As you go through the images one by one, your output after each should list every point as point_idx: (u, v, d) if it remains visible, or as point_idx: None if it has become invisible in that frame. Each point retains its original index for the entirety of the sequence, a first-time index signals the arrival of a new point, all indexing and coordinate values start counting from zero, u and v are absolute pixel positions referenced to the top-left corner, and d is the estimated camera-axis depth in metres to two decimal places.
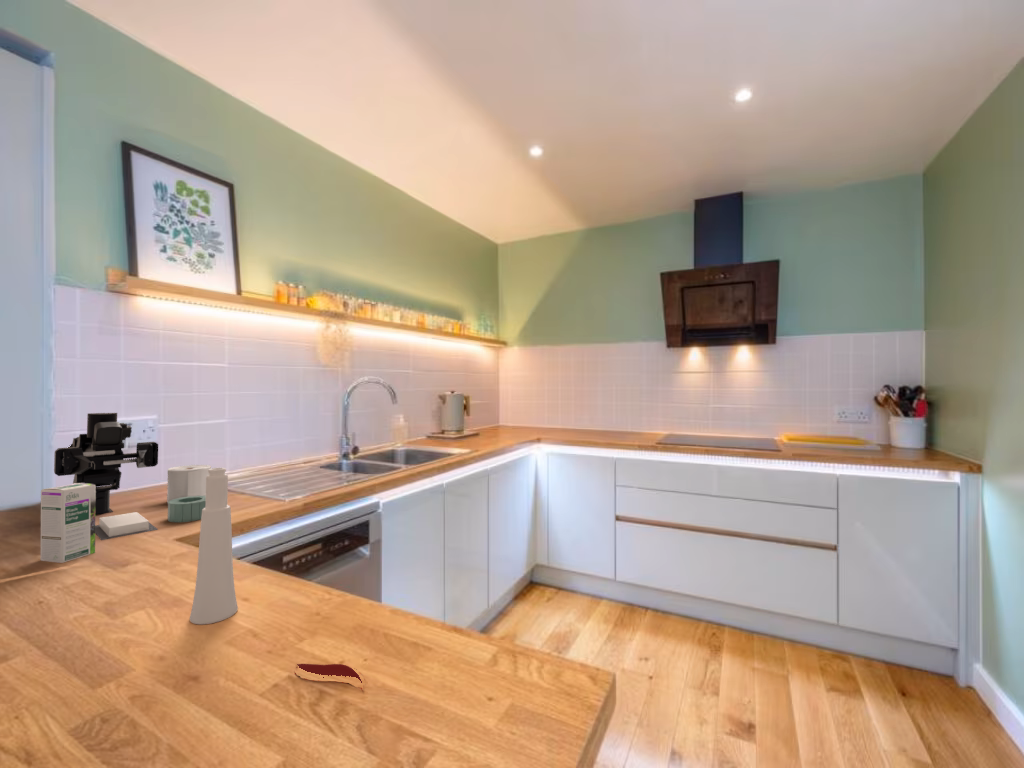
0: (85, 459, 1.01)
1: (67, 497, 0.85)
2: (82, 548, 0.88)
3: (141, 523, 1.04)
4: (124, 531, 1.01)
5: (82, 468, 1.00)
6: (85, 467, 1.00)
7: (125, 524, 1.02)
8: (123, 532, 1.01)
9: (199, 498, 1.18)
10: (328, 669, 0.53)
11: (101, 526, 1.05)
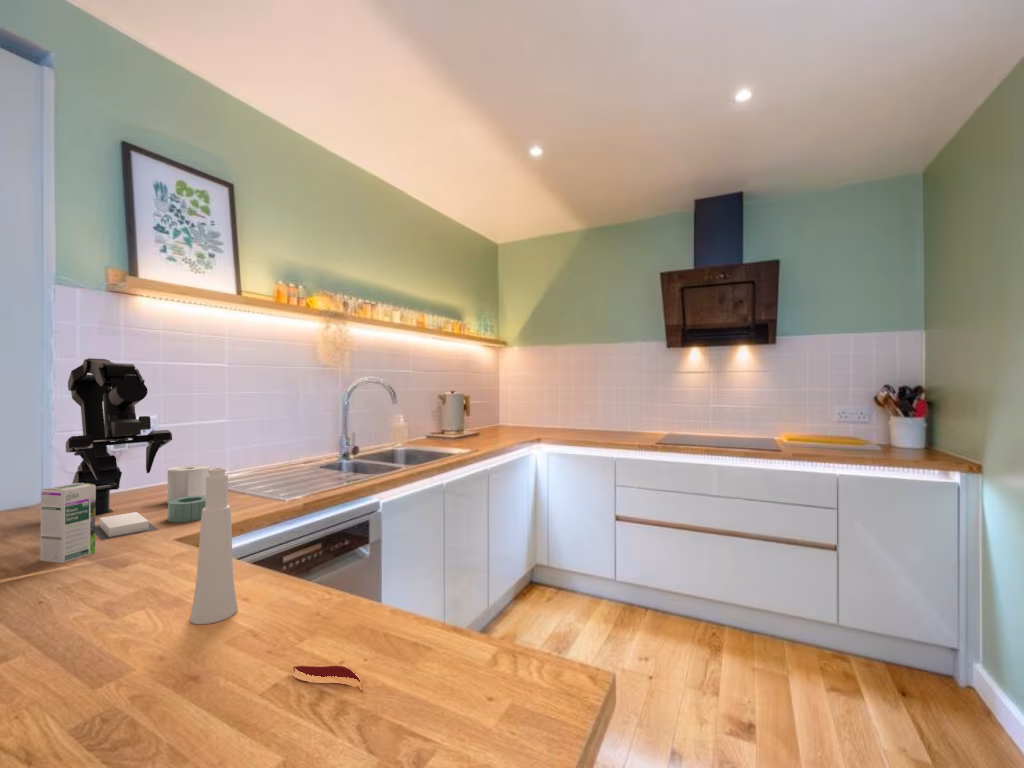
0: (95, 468, 1.01)
1: (67, 497, 0.85)
2: (82, 548, 0.88)
3: (141, 523, 1.04)
4: (124, 531, 1.01)
5: (91, 470, 1.02)
6: (93, 475, 1.02)
7: (125, 524, 1.02)
8: (123, 532, 1.01)
9: (199, 498, 1.18)
10: (326, 671, 0.52)
11: (101, 526, 1.05)
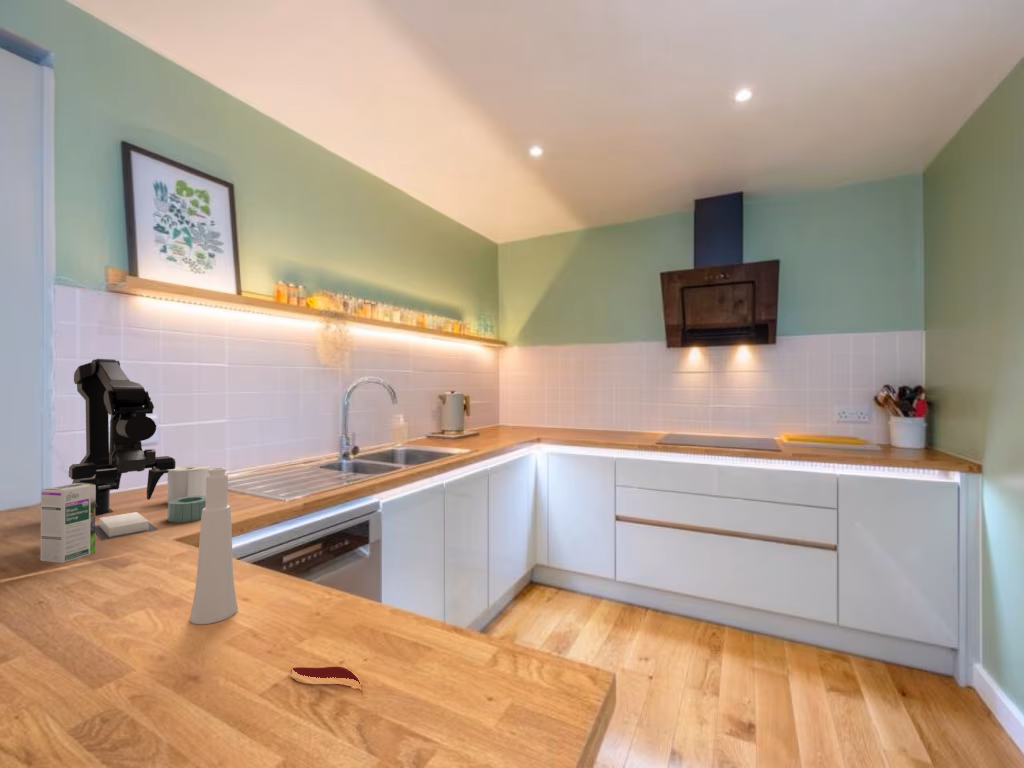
0: (96, 497, 1.02)
1: (67, 497, 0.85)
2: (82, 548, 0.88)
3: (141, 523, 1.04)
4: (124, 531, 1.01)
5: None
6: None
7: (125, 524, 1.02)
8: (123, 532, 1.01)
9: (199, 498, 1.18)
10: (325, 672, 0.52)
11: (101, 526, 1.05)
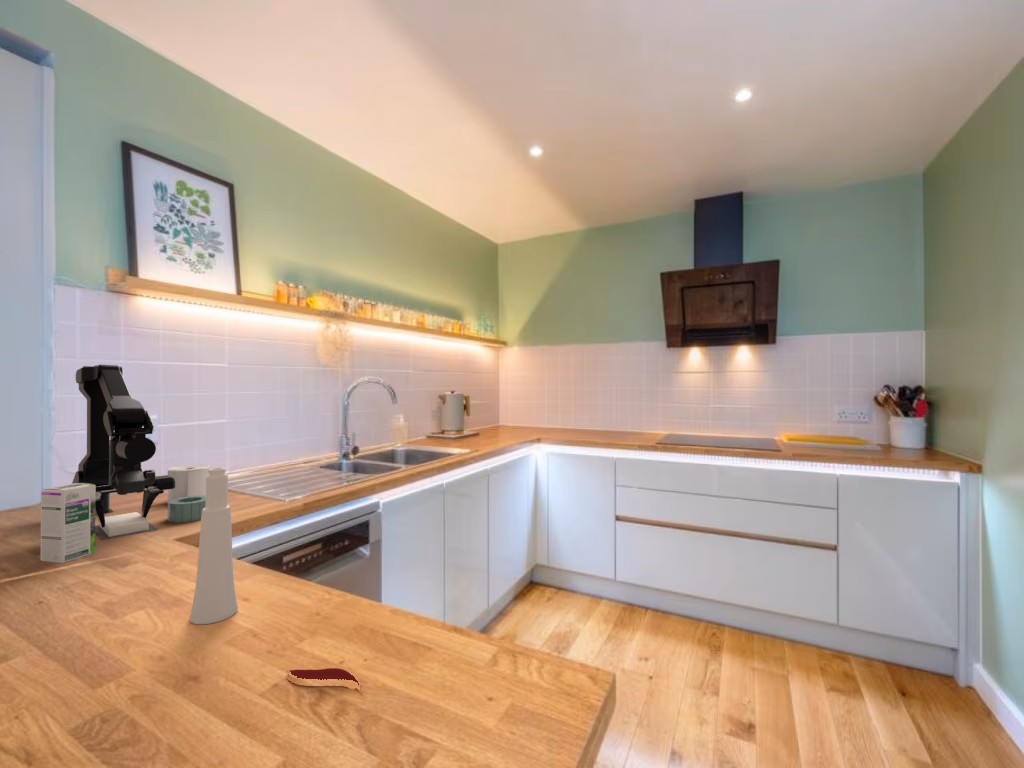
0: (101, 518, 1.02)
1: (67, 497, 0.85)
2: (82, 548, 0.88)
3: (141, 523, 1.04)
4: (124, 531, 1.01)
5: None
6: None
7: (125, 524, 1.02)
8: (123, 532, 1.01)
9: (199, 498, 1.18)
10: (323, 674, 0.52)
11: (101, 526, 1.05)
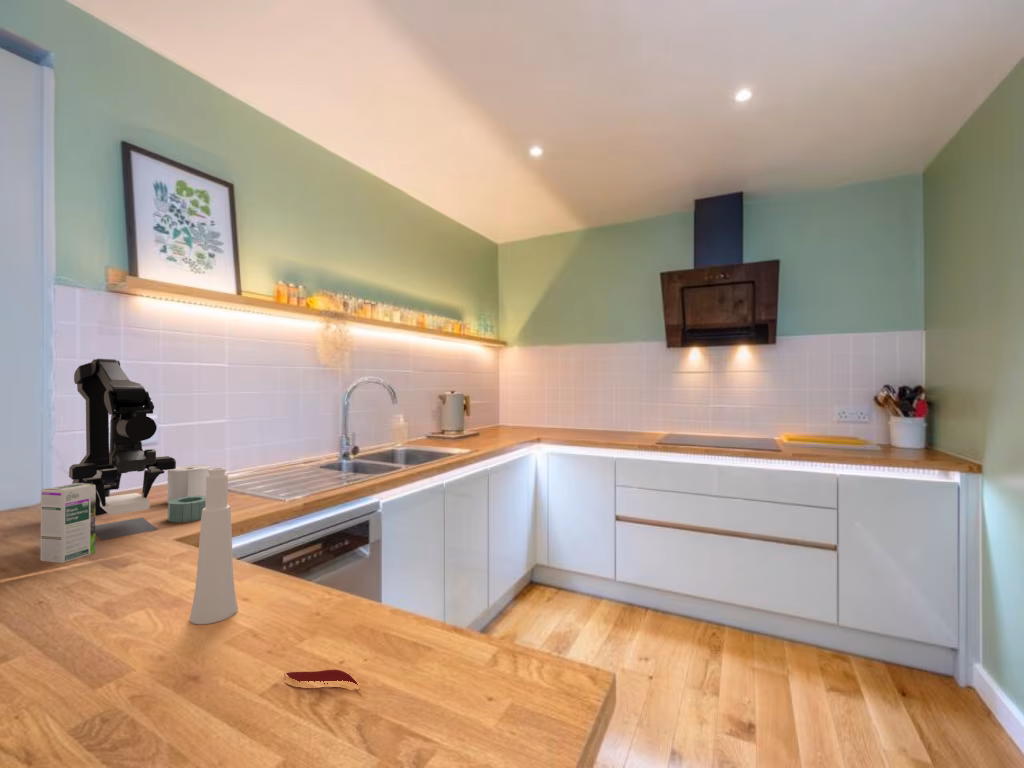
0: (102, 496, 1.02)
1: (67, 497, 0.85)
2: (82, 548, 0.88)
3: (142, 502, 1.04)
4: (125, 510, 1.01)
5: (98, 496, 1.03)
6: (100, 500, 1.03)
7: (126, 503, 1.02)
8: (124, 511, 1.01)
9: (199, 498, 1.18)
10: (321, 675, 0.51)
11: None
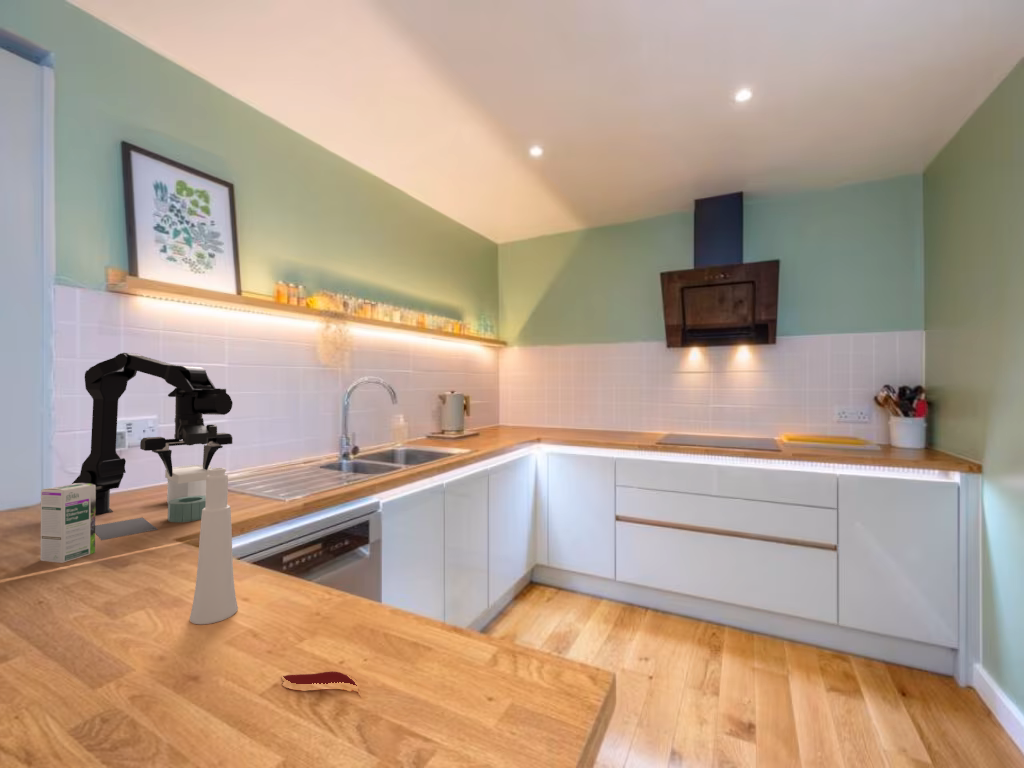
0: (170, 467, 1.11)
1: (67, 497, 0.85)
2: (82, 548, 0.88)
3: (205, 473, 1.13)
4: (191, 479, 1.10)
5: (165, 467, 1.12)
6: (167, 471, 1.12)
7: (191, 473, 1.11)
8: (190, 480, 1.10)
9: (199, 498, 1.18)
10: (319, 678, 0.51)
11: (168, 476, 1.14)
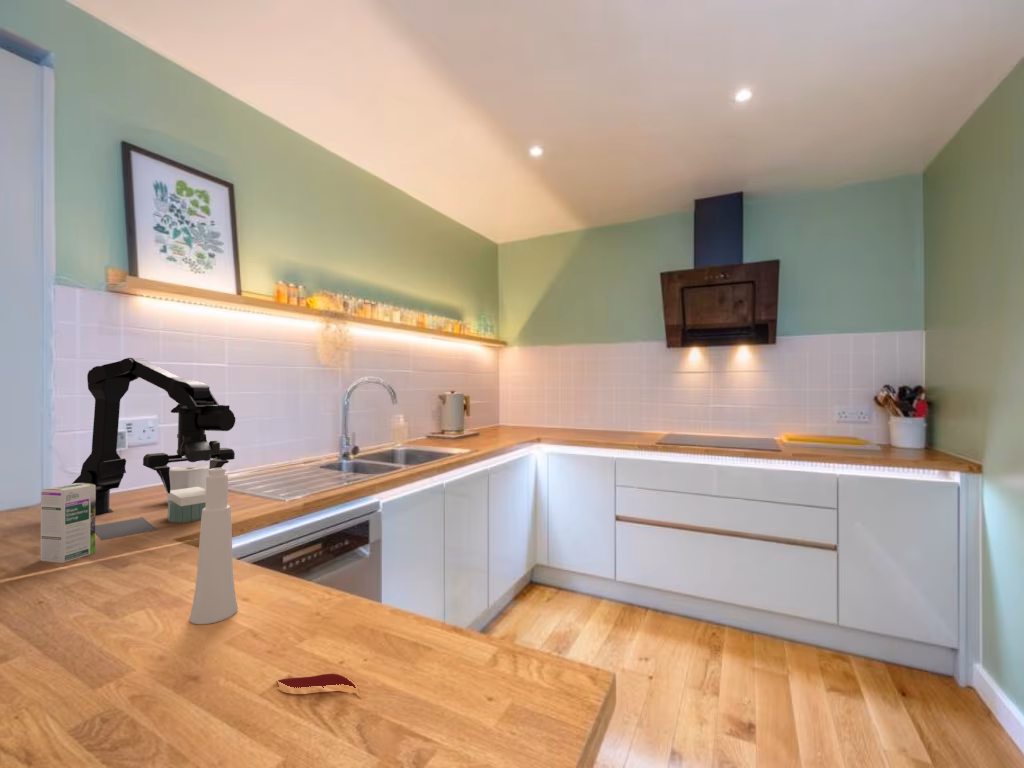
0: (167, 484, 1.11)
1: (67, 497, 0.85)
2: (82, 548, 0.88)
3: None
4: (193, 501, 1.11)
5: (163, 483, 1.12)
6: (165, 488, 1.12)
7: (194, 495, 1.12)
8: (192, 502, 1.11)
9: None
10: (317, 680, 0.51)
11: (170, 498, 1.15)
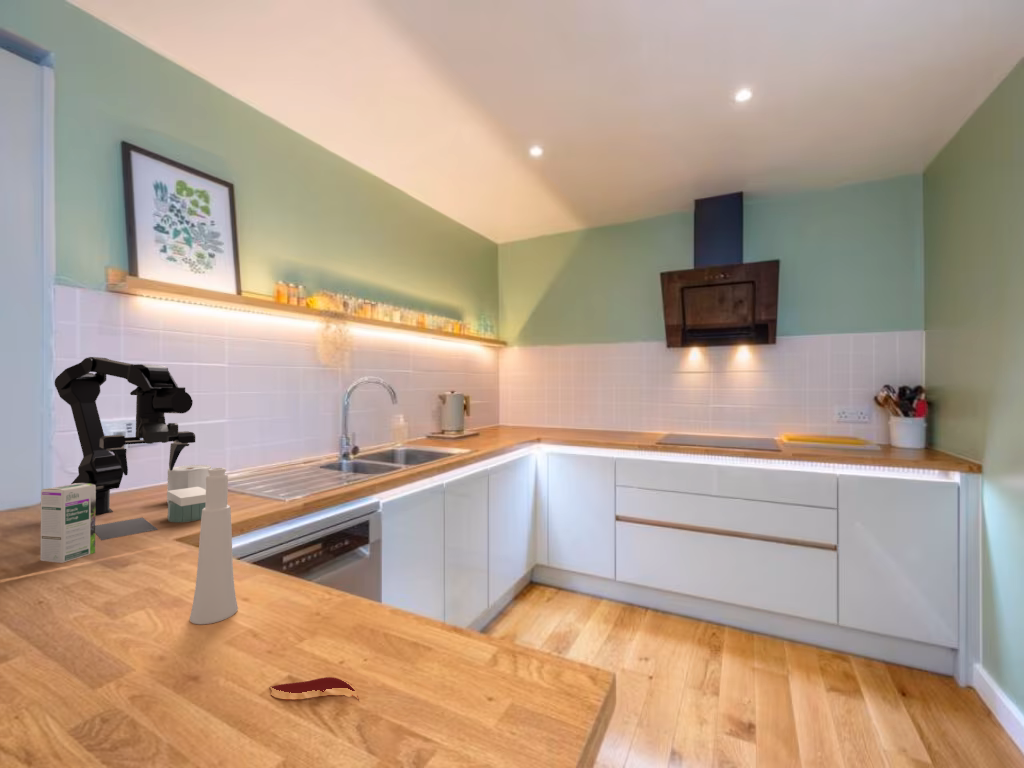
0: (125, 466, 1.11)
1: (67, 497, 0.85)
2: (82, 548, 0.88)
3: None
4: (193, 501, 1.11)
5: (120, 466, 1.12)
6: (122, 470, 1.12)
7: (194, 495, 1.12)
8: (192, 502, 1.11)
9: None
10: (313, 685, 0.50)
11: (170, 498, 1.15)
